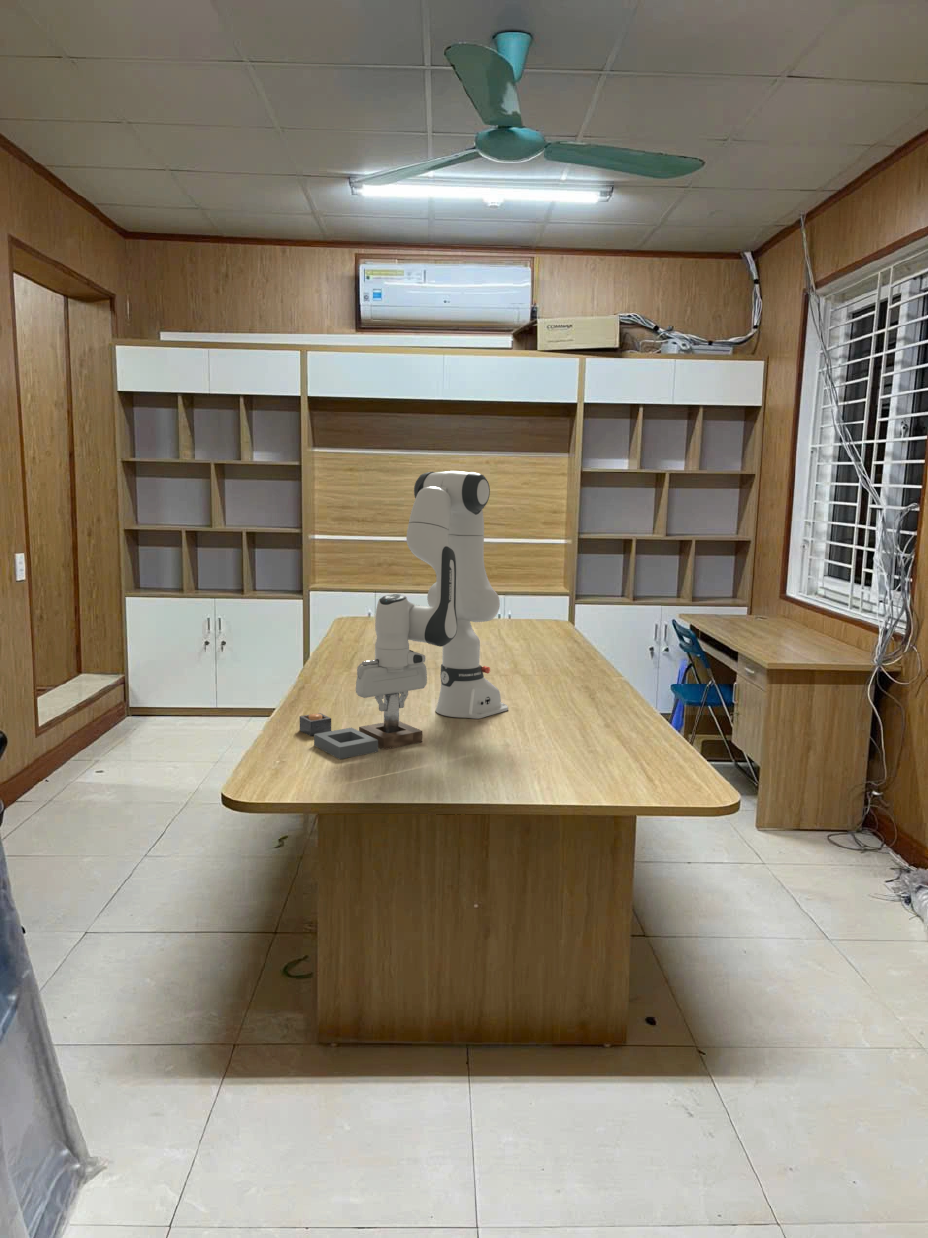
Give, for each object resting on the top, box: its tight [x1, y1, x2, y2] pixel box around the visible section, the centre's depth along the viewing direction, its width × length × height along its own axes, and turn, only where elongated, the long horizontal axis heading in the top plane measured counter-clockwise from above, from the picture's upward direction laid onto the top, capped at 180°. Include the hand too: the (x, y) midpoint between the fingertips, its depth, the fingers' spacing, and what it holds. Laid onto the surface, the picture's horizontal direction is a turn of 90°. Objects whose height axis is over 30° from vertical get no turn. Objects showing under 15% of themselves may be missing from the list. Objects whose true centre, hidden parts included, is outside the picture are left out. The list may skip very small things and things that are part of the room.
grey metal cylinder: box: [383, 692, 400, 733], centre depth 222 cm, size 4×4×12 cm
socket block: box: [358, 720, 424, 750], centre depth 222 cm, size 12×12×3 cm
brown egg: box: [308, 713, 322, 720], centre depth 227 cm, size 4×4×4 cm
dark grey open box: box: [299, 712, 332, 737], centre depth 228 cm, size 6×6×4 cm
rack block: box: [313, 727, 379, 760], centre depth 214 cm, size 11×13×3 cm
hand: (391, 709), depth 222 cm, fingers closed on grey metal cylinder, 4 cm apart
